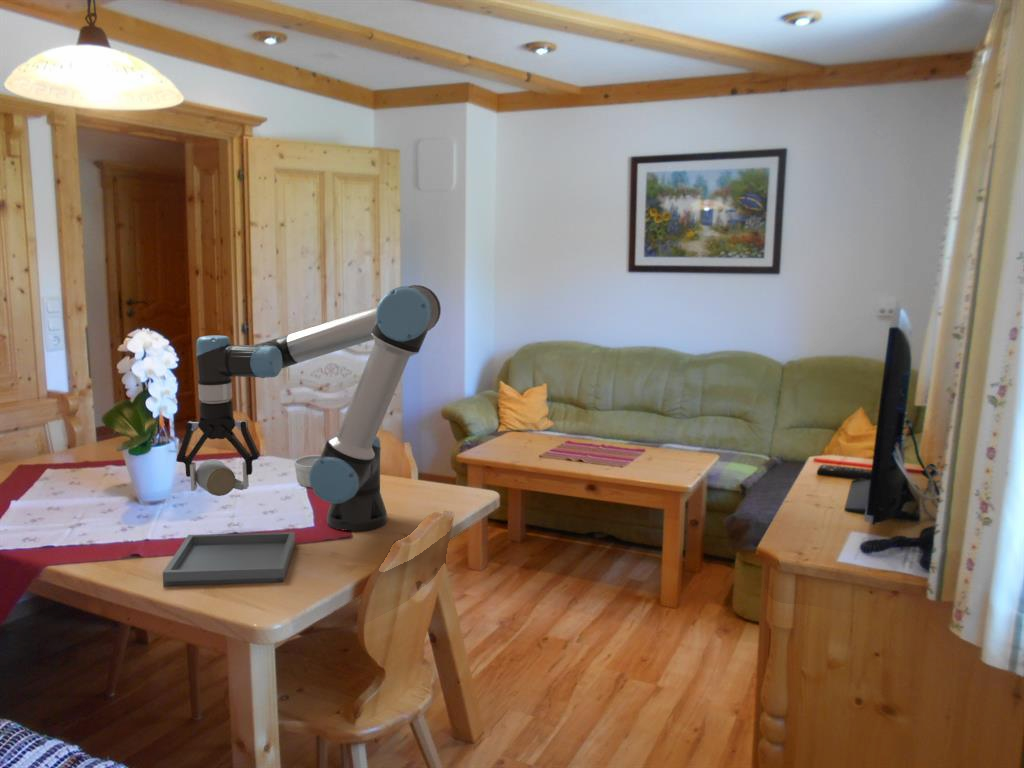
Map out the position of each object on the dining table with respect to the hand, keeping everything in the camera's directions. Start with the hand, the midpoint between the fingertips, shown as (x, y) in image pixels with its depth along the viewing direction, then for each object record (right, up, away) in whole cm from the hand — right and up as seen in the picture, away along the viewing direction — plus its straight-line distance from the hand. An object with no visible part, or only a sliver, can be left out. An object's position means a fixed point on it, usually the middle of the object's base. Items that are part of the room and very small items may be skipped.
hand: (220, 488), depth 194 cm
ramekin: (+13, -4, +45) cm, 47 cm away
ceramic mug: (0, -1, +1) cm, 1 cm away
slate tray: (+9, -14, -18) cm, 25 cm away
